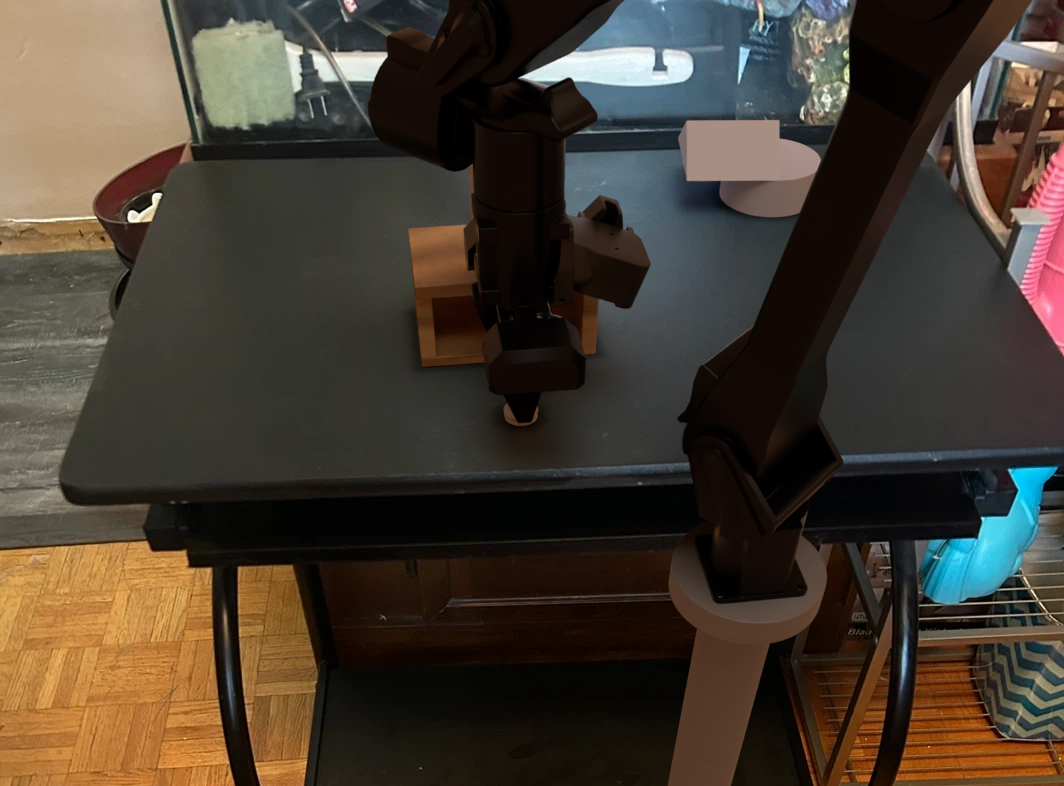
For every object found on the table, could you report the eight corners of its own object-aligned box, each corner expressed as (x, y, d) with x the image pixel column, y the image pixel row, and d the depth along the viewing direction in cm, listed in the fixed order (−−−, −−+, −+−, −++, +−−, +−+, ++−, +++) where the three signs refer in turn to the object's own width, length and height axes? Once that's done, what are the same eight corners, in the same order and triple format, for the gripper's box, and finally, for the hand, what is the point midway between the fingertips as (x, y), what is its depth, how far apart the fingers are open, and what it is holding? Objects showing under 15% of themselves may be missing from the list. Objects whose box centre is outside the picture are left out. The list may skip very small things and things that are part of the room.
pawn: (497, 412, 78) (496, 366, 74) (527, 402, 78) (527, 355, 75) (514, 431, 76) (513, 384, 73) (544, 420, 77) (545, 373, 74)
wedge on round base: (682, 217, 96) (820, 217, 96) (691, 141, 91) (837, 141, 91) (674, 174, 102) (804, 173, 102) (682, 100, 97) (819, 99, 97)
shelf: (596, 357, 82) (601, 274, 77) (422, 370, 81) (414, 287, 76) (578, 298, 88) (582, 216, 82) (415, 310, 87) (407, 228, 81)
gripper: (677, 257, 59) (652, 475, 71) (618, 121, 70) (605, 329, 83) (485, 270, 58) (493, 488, 71) (457, 131, 70) (468, 339, 82)
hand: (521, 405), depth 76 cm, fingers open, 4 cm apart
